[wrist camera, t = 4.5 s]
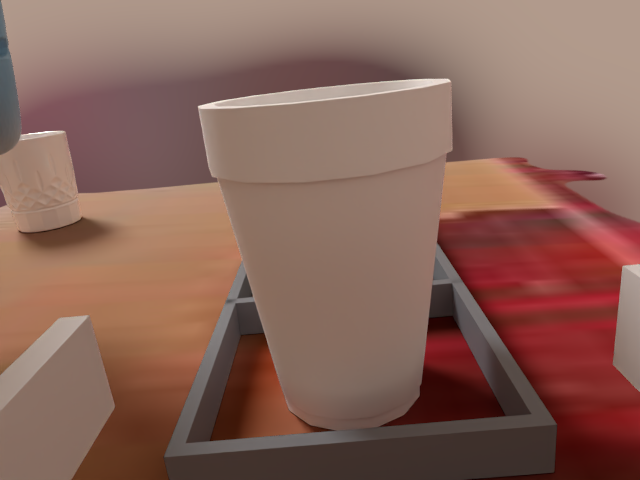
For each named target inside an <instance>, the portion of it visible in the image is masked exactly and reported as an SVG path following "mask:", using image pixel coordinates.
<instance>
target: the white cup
mask: <svg viewBox="0 0 640 480" xmlns="http://www.w3.org/2000/svg"><path fill="white" fill-rule="evenodd" d="M0 187H1V190H2V192H3V194H4V197H5V200H6V203H7V205H8V207H9V208H10V209H11V213H12V216H13V219H14V221H15V224H16V227H17V229H18V230H19V231H21V232H27V233H28V232H31V233H32V232H40V231H47V230H52V229H56V228H61V227H64V226H67V225H70V224H73V223H75V222H77V221H79V220H80V219H81V217H82V213H81V208H80V204H79V200H78V198H77V196H78V190H77V185H76V181H75V175H74V169H73V165H72V160H71V156H70V151H69V147H68V142H67V138H66V133H65V131H51V132H41V133H33V134H25V135H21V136H20V139H19V141H18V143H17V144H16V146H15V147H14V148H13V149H11V150H10V151H8V152H7V153H5V154H2V155H0Z"/></svg>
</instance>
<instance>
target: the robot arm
mask: <svg viewBox="0 0 640 480" xmlns="http://www.w3.org/2000/svg"><path fill="white" fill-rule="evenodd" d="M20 136H21V117H20V109H19V102H18V95H17V89H16V83H15V76H14V71H13V65H12V60H11V55H10V52H9V49H8V39H7V35H6V27H5V20H4V15H3V9H2V4H1V0H0V155H2V154H5V153H7V152H8V151H10V150H11V149H13V148H14V147H15V146H16V144H17V143H18V141H19V139H20ZM613 365H614V366H615V367H616V368H617V369H618V370H619V371H620V372H621V373H622V374H623V375H624V376H625V377H626V378H627V379H628V380H629V381H630V383H631V384H632V385H633V386H634V387H635V388H636V389H637V390H638V391H639V392H640V264H638V265H627V266H623V268H622V278H621V288H620V298H619V308H618V318H617V328H616V338H615V348H614V358H613ZM114 408H115V404H114V401H113V397H112V394H111V390H110V386H109V383H108V379H107V376H106V372H105V369H104V365H103V361H102V358H101V354H100V351H99V347H98V344H97V340H96V337H95V333H94V329H93V326H92V322H91V319H90V315H86V316H75V317H64V318H59V319H58V320H57V321H56V322H55V323H54V324H53V325H52V326H51V327H50V328H49V329H48V330H47V331H46V332H44V333H43V334H42V335H41V336H40V337H39V338H38V339H37V340H36V341H35V342H34V343H33V344H32V345H31V346H30V347H29V348H28V349H27V350H26V351H25V352H24V353H23V354H22V355H21V356H20V357H19V358H18V359H16V360H15V361H14V362H13V363H12V364H11V365H10V366H9V367H8V368H7V369H6V370H5V371H4V372H3V373H2V374H1V375H0V480H71V479H72V478H73V476H74V474H75V473H76V471H77V470H78V468H79V466H80V465H81V463H82V461H83V460H84V458H85V456H86V455H87V453H88V451H89V450H90V448H91V446H92V445H93V443H94V441H95V440H96V438H97V436H98V435H99V433H100V431H101V430H102V428H103V426H104V425H105V423H106V421H107V420H108V418H109V417H110V415H111V413H112V412H113V410H114Z"/></svg>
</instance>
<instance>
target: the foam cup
mask: <svg viewBox="0 0 640 480" xmlns="http://www.w3.org/2000/svg"><path fill="white" fill-rule="evenodd" d="M451 102H452V99H451V81H450V80H449V79H416V80H401V81H385V82H374V83H362V84H352V85H340V86H331V87H322V88H313V89H304V90H294V91H287V92H279V93H271V94H263V95H256V96H249V97H243V98H236V99H230V100H223V101H218V102H213V103H209V104H205V105H201V106H198V109H199V114H200V120H201V126H202V131H203V137H204V143H205V148H206V154H207V160H208V166H209V169H210V172H211V175H212V177H216V178H217V179H218V182H219V186H220V189H221V192H222V195H223V199H224V202H225V205H226V208H227V212H228V215H229V218H230V222H231V225H232V228H233V231H234V235H235V238H236V241H237V244H238V248H239V251H240V254H241V258H242V261H243V264H244V267H245V271H246V274H247V277H248V280H249V284H250V287H251V290H252V294H253V297H254V300H255V303H256V307H257V310H258V313H259V316H260V320H261V323H262V326H263V330H264V333H265V336H266V339H267V343H268V346H269V349H270V352H271V356H272V359H273V362H274V366H275V369H276V372H277V375H278V379H279V382H280V385H281V388H282V391H283V394H284V397H285V400H286V403H287V406H288V409H289V411H291V412H292V413H294V414H295V415H296V416H298V417H299V418H300V419H302V420H303V421H305V422H306V423H307V424H309V425H312V426H316V427H321V428H326V429H330V430H335V431H339V430H351V429H362V428H374V427H379V426H381V425H384V424H386V423H388V422H390V421H392V420H394V419H396V418H398V417H401V416H403V415H405V413H406V412H407V411H408V410H409V408H410V407H411V406H412V405H413V404H414V402H415V401H416V400H417V399H418V397H419V396H420V385H421V382H422V373H423V364H424V355H425V346H426V337H427V327H428V318H429V309H430V300H431V291H432V281H433V272H434V263H435V254H436V245H437V235H438V226H439V217H440V208H441V199H442V190H443V180H444V171H445V162H446V153H448V152H450V151H452V103H451Z"/></svg>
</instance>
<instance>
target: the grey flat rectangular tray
mask: <svg viewBox="0 0 640 480" xmlns="http://www.w3.org/2000/svg"><path fill="white" fill-rule="evenodd" d="M252 295H253V294H252V290H251V287H250V284H249V280H248V277H247V274H246V271H245V267H244V264H243V261H242V262H241V265H240V267H239V270H238V272H237V275H236V277H235V280H234V282H233V285H232V287H231V290H230V292H229V295H228V297H227V300H226V302H225V305H224V307H223V310H222V312H221V315H220V317H219V320H218V322H217V325H216V327H215V330H214V332H213V335H212V337H211V340H210V342H209V345H208V347H207V350H206V352H205V355H204V357H203V360H202V362H201V365H200V367H199V370H198V372H197V375H196V377H195V380H194V382H193V385H192V387H191V390H190V392H189V395H188V397H187V400H186V402H185V405H184V407H183V410H182V412H181V415H180V417H179V420H178V422H177V425H176V427H175V430H174V432H173V435H172V437H171V440H170V442H169V445H168V447H167V450H166V452H165V455H164V457H163V458H164V461H165V465H166V469H167V473H168V477H169V480H467V479H479V478H492V477H504V476H517V475H529V474H542V473H554V468H555V451H556V435H557V424H556V422H555V421H554V419H553V418H552V416H551V415H550V413H549V411H548V410H547V408H546V407H545V405H544V404H543V402H542V401H541V399H540V398H539V396H538V395H537V393H536V392H535V390H534V389H533V387H532V386H531V384H530V383H529V381H528V380H527V378H526V377H525V375H524V374H523V372H522V371H521V369H520V368H519V366H518V365H517V363H516V362H515V360H514V359H513V357H512V355H511V354H510V352H509V351H508V349H507V348H506V346H505V345H504V343H503V342H502V340H501V339H500V337H499V336H498V334H497V333H496V331H495V330H494V328H493V327H492V325H491V324H490V322H489V321H488V319H487V318H486V316H485V315H484V313H483V312H482V310H481V309H480V307H479V306H478V304H477V302H476V301H475V299H474V298H473V296H472V295H471V293H470V292H469V290H468V289H467V287H466V286H465V284H464V283H463V281H462V280H461V278H460V277H459V275H458V274H457V272H456V271H455V269H454V268H453V266H452V265H451V263H450V262H449V260H448V259H447V257H446V256H445V254H444V253H443V251H442V249H441V248H440V246H439V245H438V243H437V245H436V254H435V263H434V272H433V281H432V291H431V300H430V309H429V318H433V317H444V316H453V317H454V319H455V321H456V323H457V325H458V327H459V329H460V330H461V332H462V334H463V336H464V338H465V340H466V342H467V344H468V346H469V347H470V349H471V351H472V353H473V355H474V357H475V359H476V361H477V363H478V364H479V366H480V368H481V370H482V372H483V374H484V376H485V378H486V380H487V381H488V383H489V385H490V387H491V389H492V391H493V393H494V395H495V396H496V398H497V400H498V402H499V404H500V406H501V408H502V410H503V412H504V413H505V415H506V416H505V417H493V418H481V419H469V420H457V421H446V422H434V423H422V424H410V425H398V426H386V427H374V428H362V429H351V430H339V431H327V432H315V433H303V434H291V435H279V436H267V437H256V438H244V439H232V440H220V441H210V438H211V435H212V431H213V428H214V425H215V421H216V418H217V414H218V411H219V408H220V404H221V401H222V397H223V394H224V391H225V387H226V384H227V380H228V377H229V374H230V370H231V367H232V363H233V360H234V357H235V353H236V350H237V346H238V343H239V340H240V336H241V335H246V334H257V333H264V330H263V326H262V323H261V320H260V316H259V313H258V310H257V307H256V303H255V300H254V297H252Z"/></svg>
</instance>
